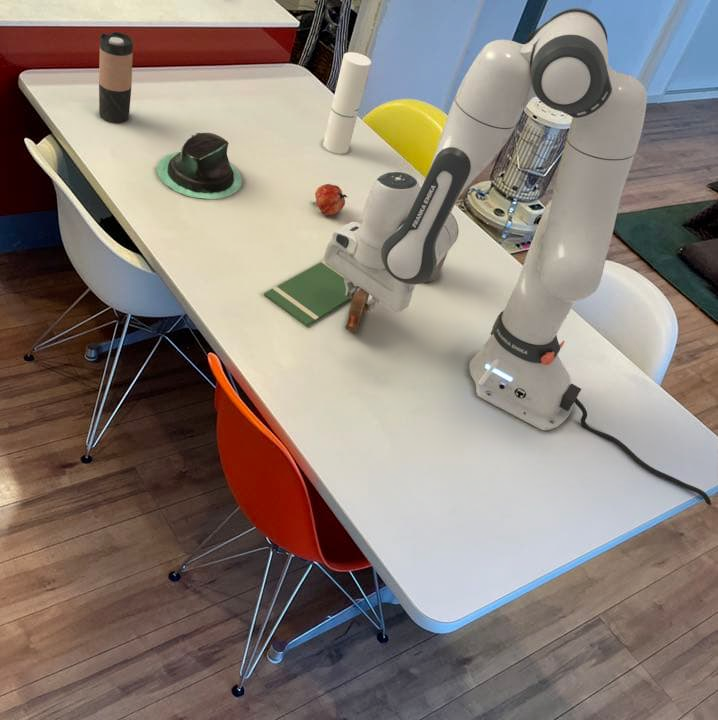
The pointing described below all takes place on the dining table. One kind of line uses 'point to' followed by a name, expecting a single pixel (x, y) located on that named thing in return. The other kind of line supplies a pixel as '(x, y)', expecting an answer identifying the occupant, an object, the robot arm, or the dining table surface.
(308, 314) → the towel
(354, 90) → the cylindrical container
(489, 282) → the dining table surface
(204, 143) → the hat
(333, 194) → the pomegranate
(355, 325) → the tin
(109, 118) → the travel mug
